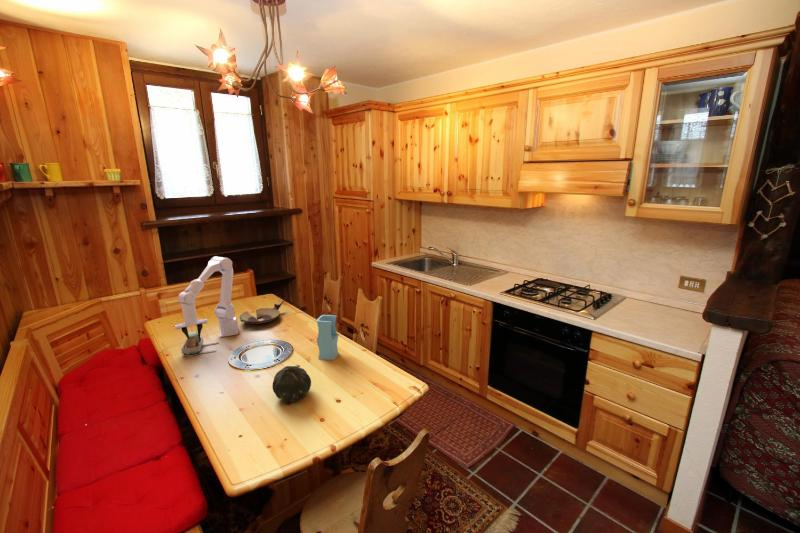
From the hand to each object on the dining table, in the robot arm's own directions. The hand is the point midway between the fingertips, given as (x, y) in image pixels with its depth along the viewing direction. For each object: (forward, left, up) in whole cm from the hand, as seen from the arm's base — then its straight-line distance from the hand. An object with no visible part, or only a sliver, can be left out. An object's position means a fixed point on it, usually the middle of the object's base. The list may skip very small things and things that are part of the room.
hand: (194, 339), depth 188 cm
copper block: (+1, +5, -3) cm, 6 cm away
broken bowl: (-34, -26, -6) cm, 43 cm away
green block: (0, 0, -1) cm, 1 cm away
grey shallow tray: (+1, +2, -5) cm, 6 cm away
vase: (-64, +32, -6) cm, 72 cm away
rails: (-3, +2, -5) cm, 7 cm away
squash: (-45, +60, -6) cm, 76 cm away
